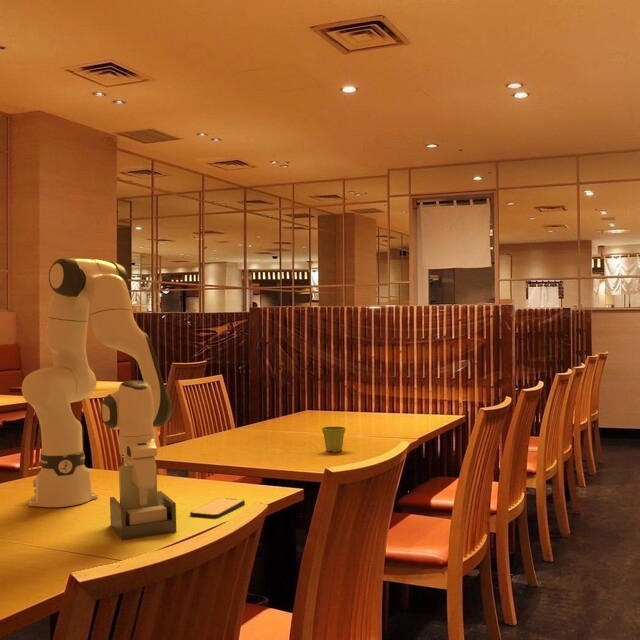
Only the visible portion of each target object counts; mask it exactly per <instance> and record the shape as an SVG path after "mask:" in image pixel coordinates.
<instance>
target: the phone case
mask: <svg viewBox="0 0 640 640" xmlns="http://www.w3.org/2000/svg"><path fill="white" fill-rule="evenodd" d="M245 502H246V501H245V500H244V499H240V498H239V499H238V498H226V497H225V498H224V497H220V498H216V499H214V500H212V501H210V502H207V503H205V504H204V505H202V506H200V507H198V508H196V509H194V510H192V511H190V513H189V515H190V517H193V518H203V519H204V518H205V519H219V518H221V517H223V516H225V515H227V514H229V513H231V512H233V511H236V510H237V509H239V508H241V507H243V506H245Z"/></svg>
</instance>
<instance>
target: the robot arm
mask: <svg viewBox="0 0 640 640" xmlns="http://www.w3.org/2000/svg"><path fill="white" fill-rule="evenodd" d="M48 282H49V286H50V287H51V289H52V294H51V298H50V300H49V301H50V302H49V307H48V312H47V320H46V321H47V322H46V327H45V328H46V329H45V337H44V338H45V339H44V343H45V346H46V347H47V349H49V350H50V352H51V355H52V361H53V366H50V367H42V368H39V369H37V370H35V371H32V372H31V373H29V374H27V375H26V376H25V377H24V379H23V381H22V383H21V384H22V385H21V393H22V397H23V399H24V400H25V401H26V403H28V405H30V406H31V407H32V408H33V409H34V412H35V414H36V417H37V420H38V423H39V427H40V433H41V434H40V437H41V454H40V459H39V462H40V467H41V469H40V471H39V472H38V473H37V474H36V476H35V478H34V479H33V480H32V482H33V483H32V485H33V488H34V492H33V495H32V497H31V498H30V500H29V502H28V506H29V507H40V508H41V507H43V508H64V507H72V506H76V505H82V504H85V503H88V502H89V501H91V500H94V499H98V498H99V496H98V493H96V492H94V491H92V490H93V489H92V479H91V476H92V475H91V470H90V469H89V468H88V467H86V465H85V462H86V460H85V459H86V455H85V451H84V449H83V427H82V426H83V425H82V423H81V421H80V420H79V419H77V418H76V417H75V415H74V413H73V410H72V406H71V403H76V402H77V403H78V402H81V401H82V400H84V399H87V398H88V397H90V396H91V395H92V394H93V393H94V392H95V390H96V388H97V378H96V375H95V373H94V372H93V371H94V370H92V369H91V367H90V364H89V360H88V355H87V338H88V337H87V335H88V325H89V316H90V323H91V328H92V333H93V335H94V337H95V339H97V341H99V343H101V344H102V345H104V346H105V347H108V348H110V349H113V350H117V351H119V352H122V353H124V354H127V355H129V356H130V357H132V358H133V359H135V361H136V362H137V364H138V367H139V370H140V375H141V376H142V380H138V379H133V380H126V381H122V382H121V383H120V384H119V388H118V390H116V391H115V392H113V393H109V394H108V395H106V396H105V397H104V399H103V400H102V402H101V404H100V418H101V422H102V423H103V424H104V425H105V426H106V427H108V428H109V429H110V430H119V434H118V442H119V443H118V445H119V446H118V447H119V449H118V450H119V451H118V452H119V454H120V455H123V466H129V465H131V466H132V467H133V468H132V483H133V484H134V485H136V486H137V487H138V488H139V504H140V505H146V504H147V495H148V489H150V488H153V486H154V483H155V463H156V457H157V456H158V448H157V445H156V432H155V428H161V427H162V426H164V425H165V424H167V422H168V421H169V419H170V418H171V417H172V415H173V403H172V400H171V397H170V394H169V392H168V390H167V389H166V386H165V383H164V379H163V377H162V373H161V371H160V367H159V363H158V360H157V359H158V358H157V356H156V354H155V351H154V348H153V344H152V342H151V339H150V337H149V335H148V334H147V333H146V331H145V332H144V331H143V330H142V329H141V328H140V327H139V326H138V324H137V321H136V319H135V317H134V311H133V305H132V299H131V296H130V293H129V289H128V285H129V283H128V282H129V278H128V272H127V270H126V268H125V267H124V266H123V265H122V264H119V263H117V262H114V261H106V260H102V259H95V258H72V257H62V258H58V259H56V260H55V261H54V262H53V263H52V265H51V266H50V269H49V272H48Z"/></svg>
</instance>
